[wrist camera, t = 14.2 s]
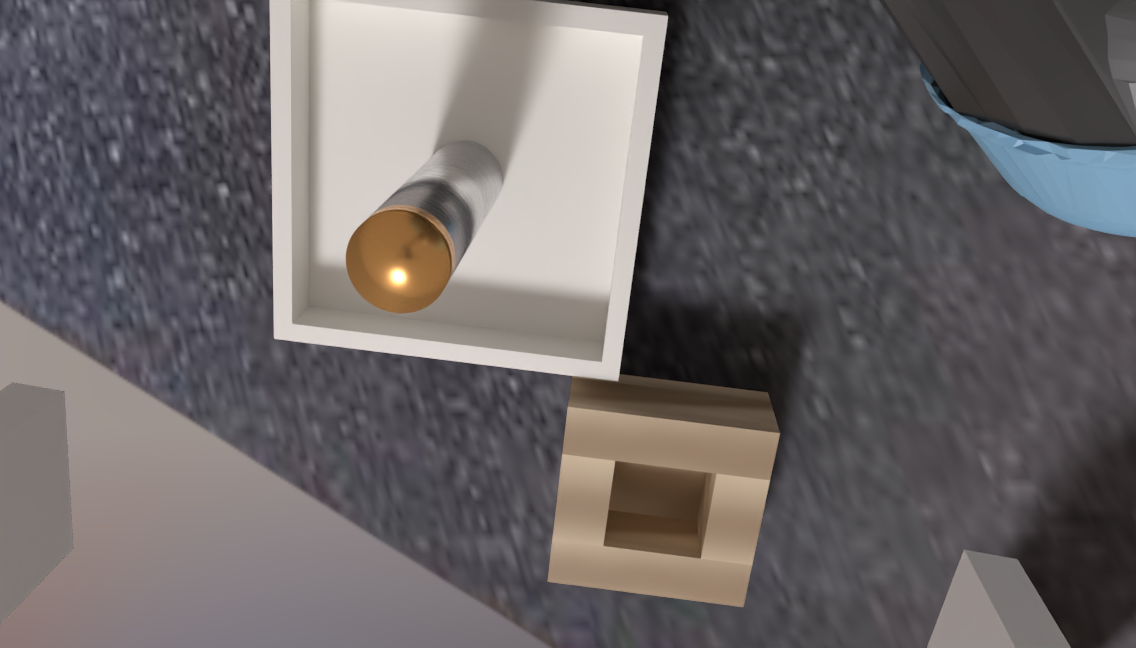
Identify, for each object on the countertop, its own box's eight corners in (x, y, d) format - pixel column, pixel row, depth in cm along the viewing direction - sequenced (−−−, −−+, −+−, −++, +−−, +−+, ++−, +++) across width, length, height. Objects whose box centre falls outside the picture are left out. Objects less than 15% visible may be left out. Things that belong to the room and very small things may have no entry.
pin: (429, 136, 39) (346, 207, 28) (505, 145, 39) (452, 219, 28) (426, 210, 40) (344, 306, 29) (499, 219, 40) (446, 319, 29)
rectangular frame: (296, -31, 38) (269, -30, 35) (666, 11, 37) (668, 15, 35) (297, 314, 43) (274, 338, 41) (619, 353, 43) (618, 381, 40)
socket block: (573, 368, 43) (567, 406, 40) (767, 392, 43) (780, 433, 39) (554, 532, 47) (547, 581, 43) (734, 555, 47) (743, 606, 43)
